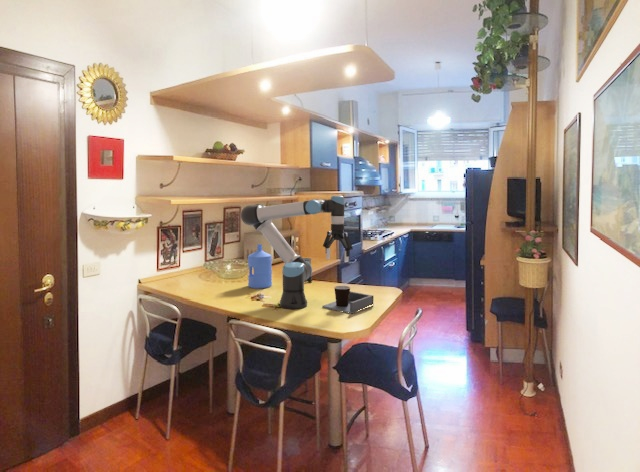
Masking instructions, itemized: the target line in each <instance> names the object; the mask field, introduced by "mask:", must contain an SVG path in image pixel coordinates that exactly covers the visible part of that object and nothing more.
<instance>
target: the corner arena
mask: <svg viewBox="0 0 640 472" xmlns="http://www.w3.org/2000/svg"><path fill="white" fill-rule="evenodd" d="M372 304H373V305H374V295H372V294H366V293H360V292H356V291H351V290H350V294H349V302H348V306H347V307H338V306H336V300H335V301H333V302H330V303H327V304H324V305H322V307H321V308H322V309H326V308H327V310H331V309H332V310H333V311H335V310H337V311H336V312H340V311H343V312H342V313H344V312H349V313H354V312H356V311H358V310H360V309H363V308H365V307H367V306H369V305H372ZM332 310H331V311H332ZM349 313H348V314H349Z"/></svg>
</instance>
